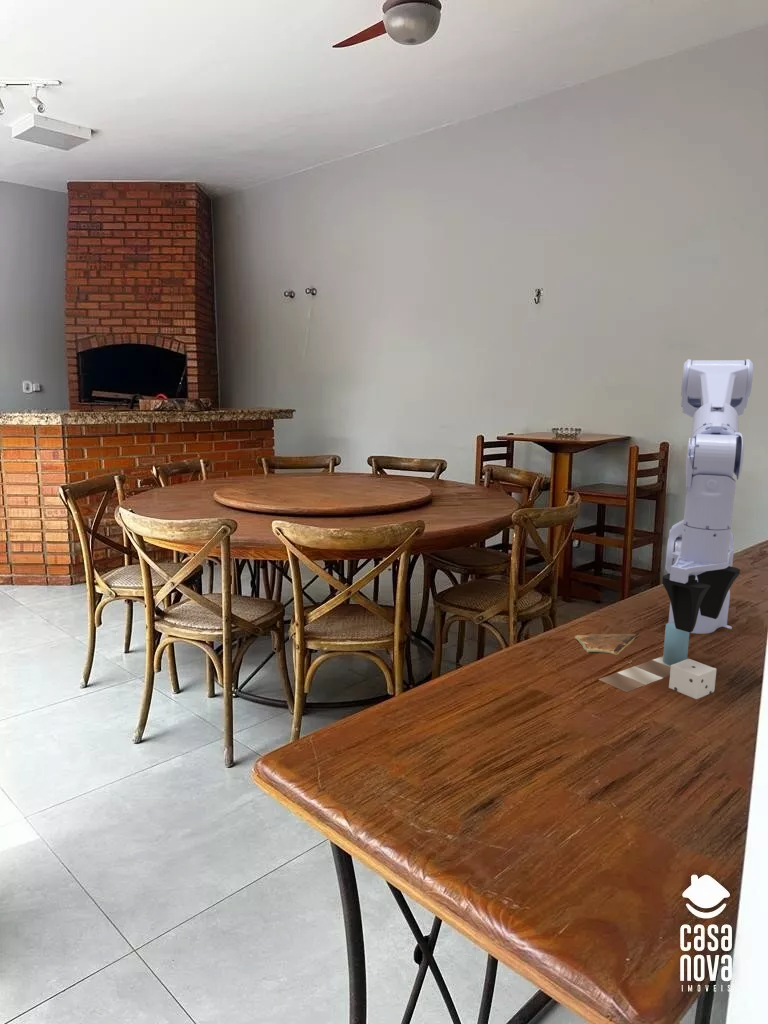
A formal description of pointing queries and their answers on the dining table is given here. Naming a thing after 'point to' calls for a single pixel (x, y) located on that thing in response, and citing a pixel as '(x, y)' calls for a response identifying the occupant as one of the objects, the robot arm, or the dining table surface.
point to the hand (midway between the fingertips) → (696, 623)
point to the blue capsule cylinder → (675, 645)
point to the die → (692, 678)
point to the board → (638, 675)
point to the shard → (606, 642)
